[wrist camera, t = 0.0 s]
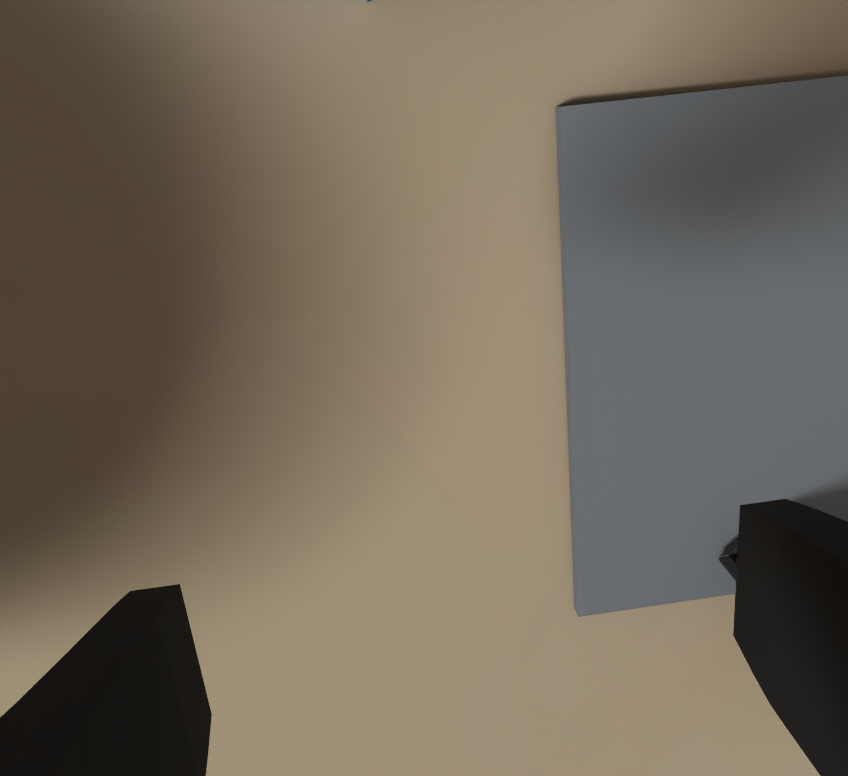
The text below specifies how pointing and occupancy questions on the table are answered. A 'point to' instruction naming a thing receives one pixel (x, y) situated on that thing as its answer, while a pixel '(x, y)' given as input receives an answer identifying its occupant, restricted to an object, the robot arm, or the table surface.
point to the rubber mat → (700, 327)
